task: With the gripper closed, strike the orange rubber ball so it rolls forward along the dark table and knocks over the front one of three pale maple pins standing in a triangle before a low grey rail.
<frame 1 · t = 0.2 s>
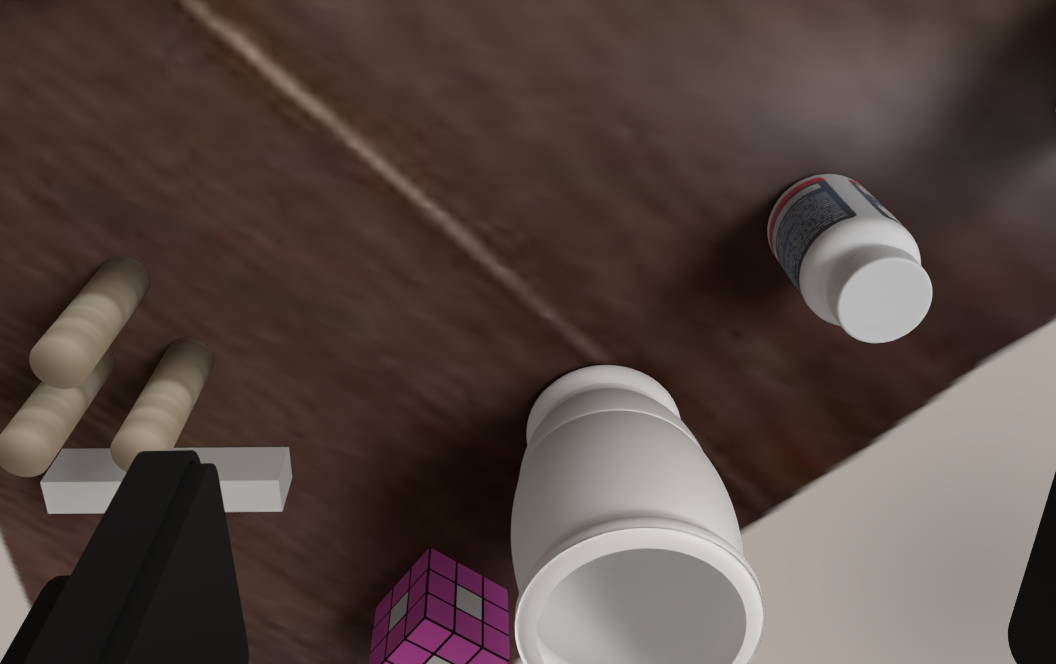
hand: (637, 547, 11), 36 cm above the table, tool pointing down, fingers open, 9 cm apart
back rail: (178, 463, 54), on the table
pill bottle: (817, 221, 49), on the table
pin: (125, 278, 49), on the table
pin 2: (90, 358, 51), on the table
jar: (602, 427, 54), on the table
pin 1: (190, 358, 51), on the table
puzzle toy: (442, 595, 59), on the table
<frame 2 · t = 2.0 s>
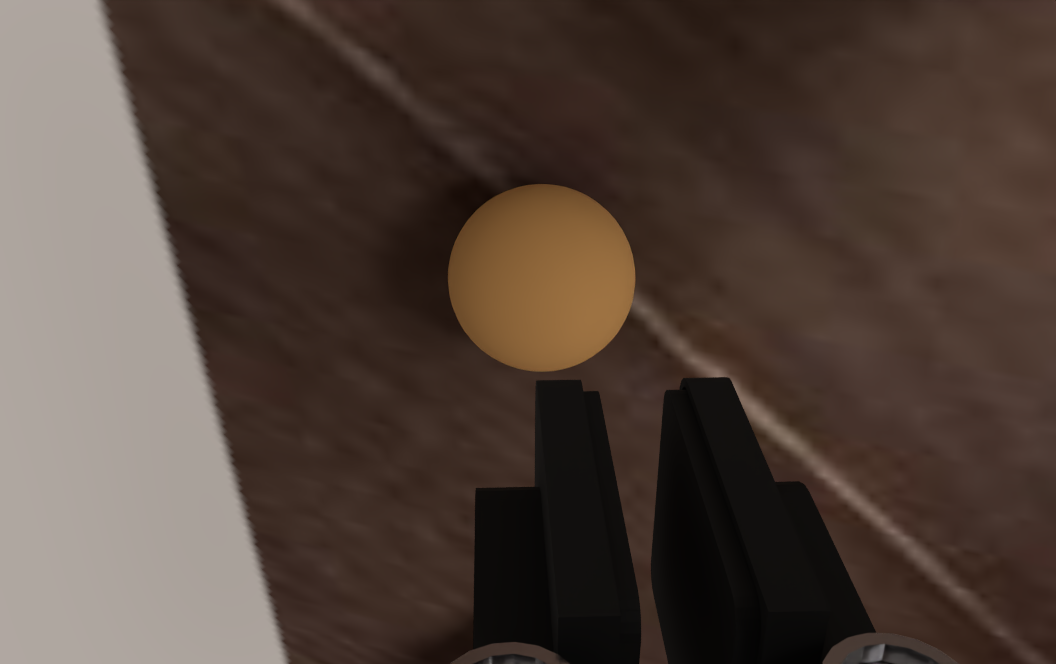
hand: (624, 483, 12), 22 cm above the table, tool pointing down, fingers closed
ball: (541, 278, 32), on the table
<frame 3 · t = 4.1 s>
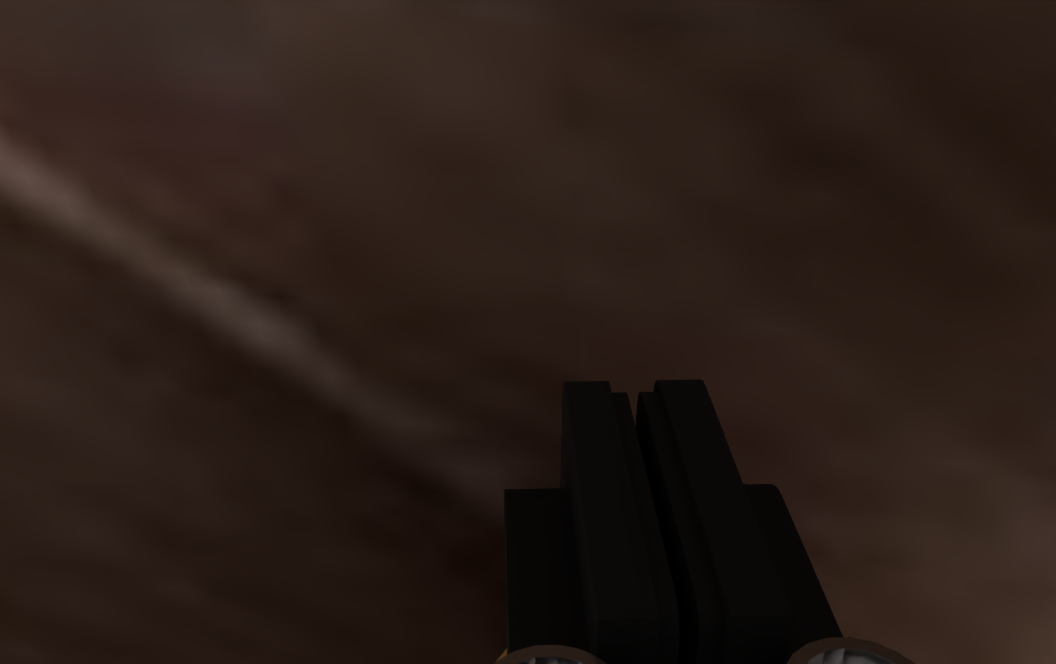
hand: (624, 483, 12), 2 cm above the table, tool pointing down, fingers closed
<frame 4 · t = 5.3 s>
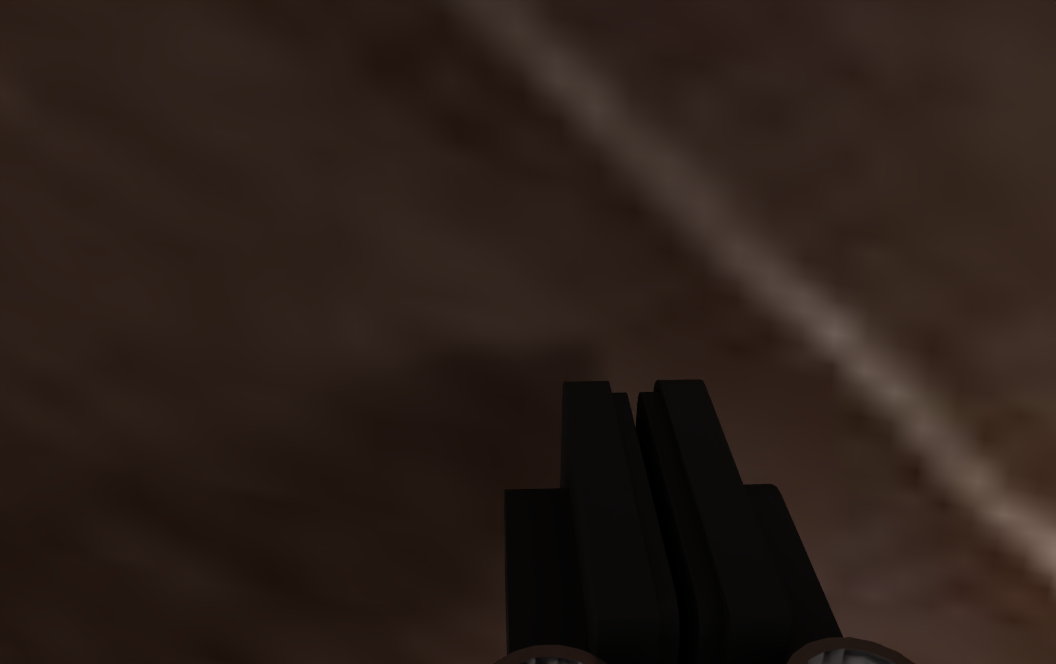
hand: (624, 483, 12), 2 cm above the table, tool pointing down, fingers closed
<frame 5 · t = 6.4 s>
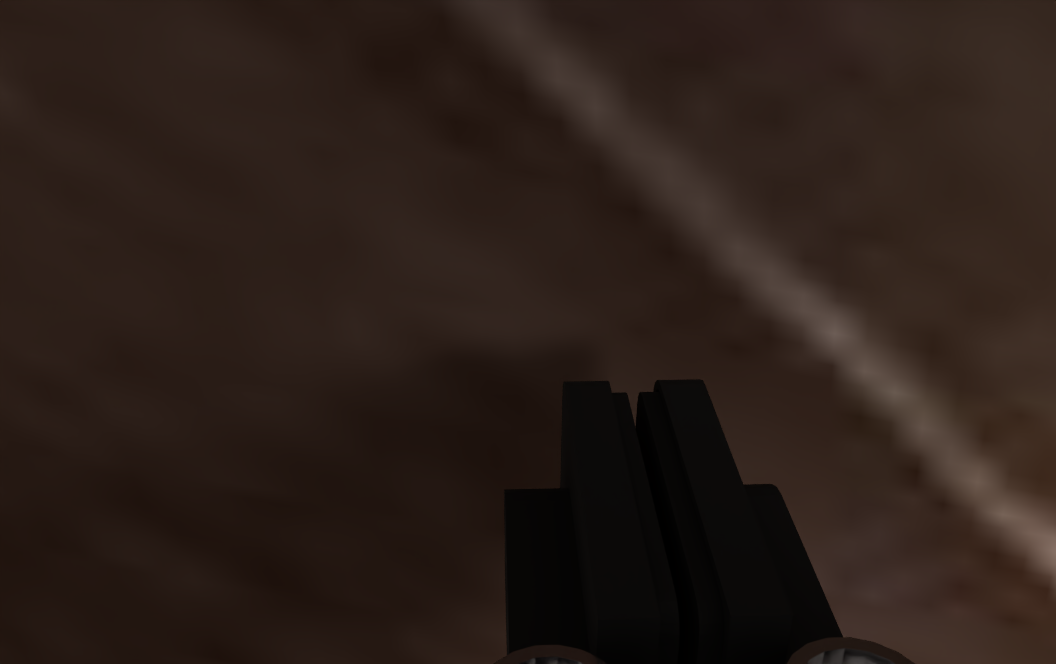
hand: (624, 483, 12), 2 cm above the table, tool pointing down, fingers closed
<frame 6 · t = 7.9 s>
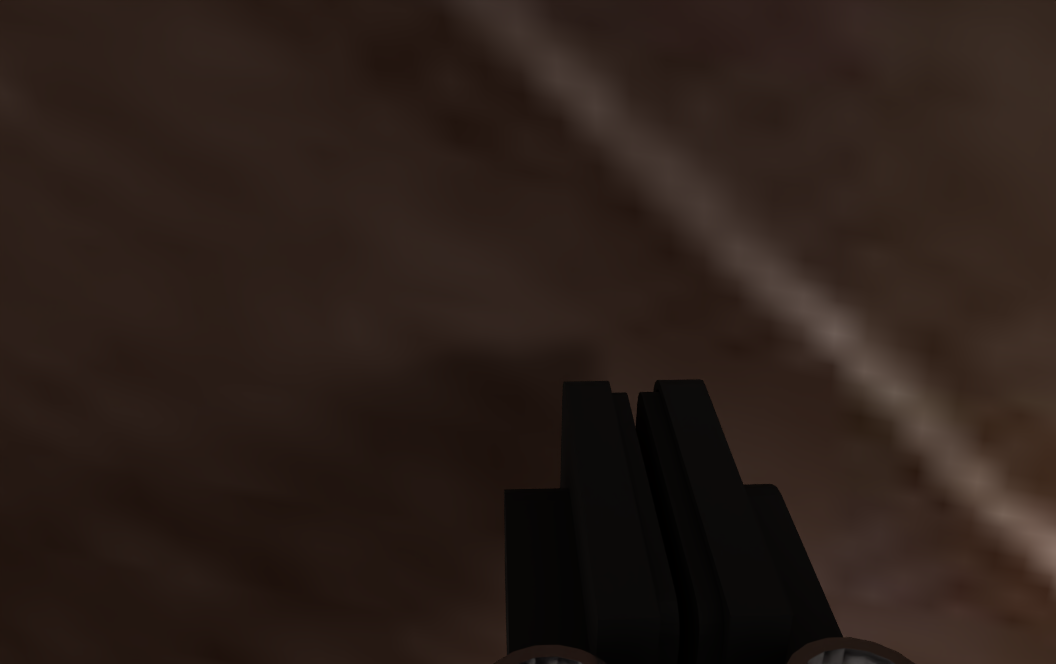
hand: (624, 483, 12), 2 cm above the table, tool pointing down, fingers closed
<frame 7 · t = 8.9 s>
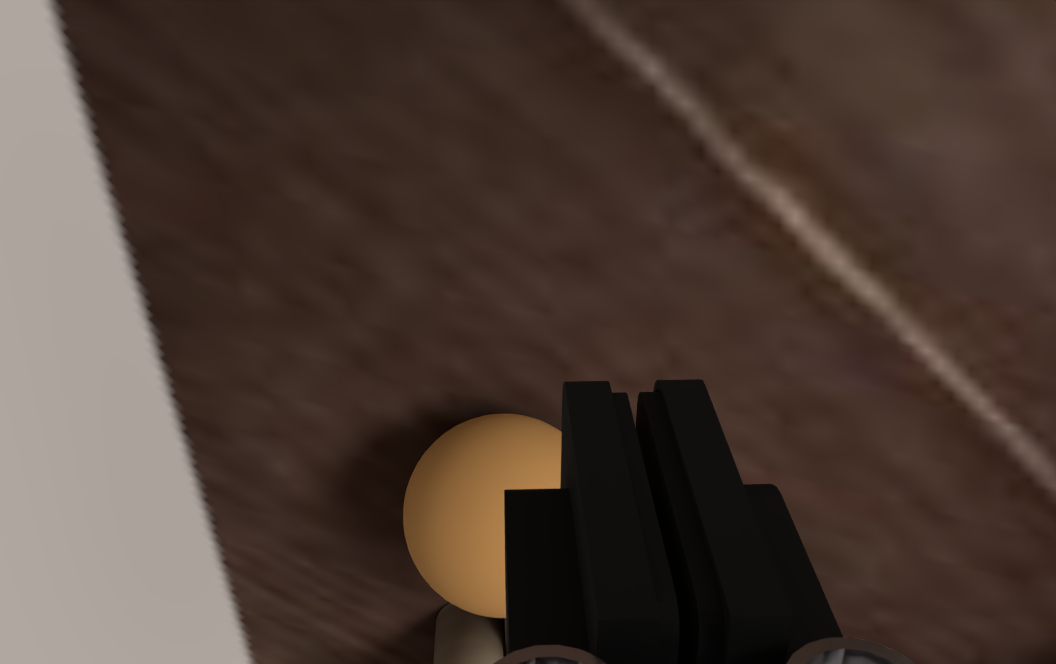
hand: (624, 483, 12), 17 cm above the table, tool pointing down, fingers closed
ball: (503, 513, 30), on the table
pin 2: (469, 623, 36), on the table
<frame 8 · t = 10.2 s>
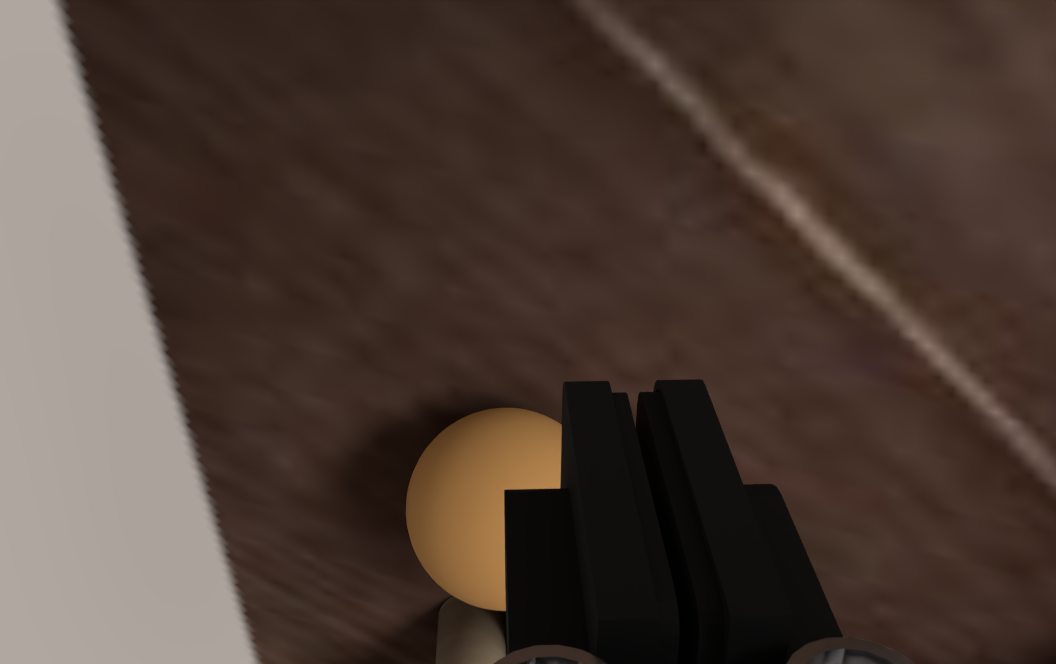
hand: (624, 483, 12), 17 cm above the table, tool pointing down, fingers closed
ball: (506, 507, 30), on the table
pin 2: (471, 617, 36), on the table
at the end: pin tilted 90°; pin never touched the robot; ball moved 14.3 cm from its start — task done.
